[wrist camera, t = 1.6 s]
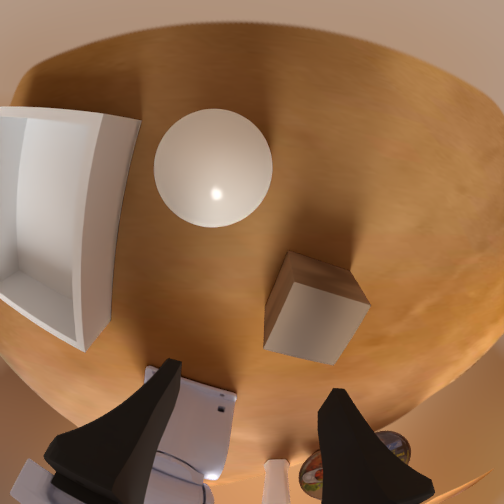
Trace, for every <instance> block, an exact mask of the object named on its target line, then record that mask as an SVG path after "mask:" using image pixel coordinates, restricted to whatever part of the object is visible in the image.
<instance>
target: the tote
mask: <svg viewBox="0 0 504 504" xmlns="http://www.w3.org/2000/svg"><path fill="white" fill-rule="evenodd" d="M141 122H142V121H141V120H136V119H131V118H126V117H120V116H115V115H109V114H102V113H95V112H87V111H78V110H68V109H57V108H42V107H0V298H1V299H2V300H3V301H4V302H6V303H7V304H8V305H10V306H11V307H12V308H14V309H15V310H17V311H18V312H19V313H21V314H22V315H24V316H25V317H27V318H28V319H30V320H31V321H32V322H34V323H36V324H37V325H39V326H40V327H42V328H43V329H45V330H46V331H48V332H50V333H51V334H53V335H55V336H56V337H58V338H60V339H61V340H63V341H65V342H67V343H68V344H70V345H72V346H74V347H76V348H77V349H79V350H81V351H83V352H86V351H87V350H88V348H89V347H90V346H91V344H92V343H93V342H94V341H95V339H96V338H97V337H98V336H99V334H100V333H101V332H102V331H103V329H104V328H105V327H106V326H107V324H108V323H109V322H110V321H111V302H112V284H113V271H114V260H115V251H116V242H117V235H118V227H119V221H120V214H121V208H122V202H123V197H124V192H125V186H126V182H127V177H128V172H129V168H130V163H131V159H132V155H133V151H134V147H135V143H136V139H137V136H138V132H139V128H140V125H141Z"/></svg>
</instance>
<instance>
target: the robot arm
mask: <svg viewBox="0 0 504 504" xmlns="http://www.w3.org/2000/svg"><path fill="white" fill-rule="evenodd" d="M181 366H182V362H181V361H177V360H174V359H170V358H168V359H167V360H166V361H165V362H164V363H163V365H162V366H161V367H160V368H159V369H158V368H155V367H152V366H147V367H146V369H145V380H144V385H143V386H142V387H141V388H140V389H139V390H137V391H136V392H135V393H134V394H133V395H132V396H130V397H129V398H128V399H127V400H126V401H124V402H123V403H122V404H120V405H119V406H117V407H116V408H115V409H113V410H112V411H110V412H108V413H107V414H105V415H103V416H102V417H100V418H98V419H96V420H94V421H92V422H90V423H88V424H86V425H84V426H82V427H79V428H77V429H75V430H72V431H69V432H66V433H63V434H60V435H57V436H56V437H55V438H54V440H53V441H52V442H51V443H50V445H49V447H48V449H47V451H46V452H45V454H44V459H45V460H46V462H47V463H48V464H50V466H51V467H52V468H53V469H54V470H55V471H56V473H55V475H53V474H51V473H50V472H49V471H47V470H46V469H44V468H43V467H41V466H39V465H38V464H37V463H35V462H34V461H32V460H31V459H27V461H26V463H25V465H24V467H23V468H22V471H21V472H20V474H19V476H18V478H17V480H16V482H15V484H14V486H13V488H12V490H11V492H10V495H11V496H12V497H14V498H15V499H16V500H17V501H19V502H20V503H21V504H214V497H213V494H212V492H211V489H210V488H209V486H208V485H207V484H205V483H203V479H209V480H217V479H218V478H219V477H220V475H221V473H222V470H223V468H224V465H225V461H226V457H227V453H228V448H229V442H230V434H231V427H232V420H233V413H234V406H235V401H236V399H237V394H235V393H233V392H229V391H225V390H222V389H218V388H215V387H211V386H208V385H205V384H201V383H198V382H195V381H192V380H189V379H186V378H183V377H181ZM318 436H319V444H320V451H321V459H322V468H323V488H322V502H321V504H420V503H422V502H423V501H425V500H427V499H429V498H430V497H431V496H433V495H434V493H435V490H434V487H433V483H432V480H431V479H429V478H427V477H426V476H424V475H422V474H420V473H418V472H417V471H415V470H414V469H412V468H411V467H409V466H408V465H407V464H405V463H404V462H403V461H402V460H400V459H399V458H398V457H397V456H396V455H395V454H394V453H393V452H391V451H390V450H389V449H388V447H387V446H386V445H385V444H384V443H383V442H382V441H381V440H380V439H379V438H378V436H377V435H376V434H375V433H374V431H373V430H372V429H371V428H370V426H369V425H368V423H367V422H366V421H365V419H364V418H363V416H362V415H361V413H360V412H359V410H358V409H357V407H356V406H355V404H354V403H353V401H352V400H351V398H350V397H349V395H348V393H347V392H346V390H345V389H339V388H333V389H332V391H331V393H330V394H329V396H328V397H327V399H326V400H325V402H324V403H323V405H322V406H321V408H320V409H319V411H318Z"/></svg>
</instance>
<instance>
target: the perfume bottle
mask: <svg viewBox="0 0 504 504" xmlns="http://www.w3.org/2000/svg"><path fill="white" fill-rule="evenodd" d="M289 465H290V464H289V463H288V461H287V460H286V459H274V460H268V461H267V462H266V463H265V464H264V468H265V472H266V476H265V484H264V491H263V498H262V504H290V495H289V485H288V474H287V472H288V469H289Z"/></svg>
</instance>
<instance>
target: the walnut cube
mask: <svg viewBox="0 0 504 504" xmlns="http://www.w3.org/2000/svg"><path fill="white" fill-rule="evenodd" d="M370 306H371V304H370V303H369V301H368V299H367V298H366V296H365V294H364V293H363V291H362V289H361V288H360V286H359V284H358V283H357V281H356V280H355V278H354V276H353V275H352V273H351V272H350V271H348V270H345V269H343V268H340V267H337V266H334V265H331V264H328V263H325V262H322V261H319V260H316V259H313V258H310V257H307V256H304V255H301V254H298V253H295V252H292V251H289V250H288V252H287V255H286V257H285V260H284V262H283V265H282V267H281V270H280V272H279V275H278V277H277V280H276V282H275V284H274V287H273V289H272V292H271V294H270V297H269V299H268V301H267V304H266V306H265V317H264V343H263V349H265V350H269V351H273V352H277V353H281V354H285V355H289V356H293V357H297V358H302V359H306V360H310V361H315V362H320V363H324V364H329V365H334V364H335V363H336V361H337V360H338V358H339V357H340V355H341V354H342V352H343V351H344V349H345V348H346V346H347V345H348V343H349V341H350V340H351V338H352V337H353V335H354V333H355V332H356V330H357V329H358V327H359V325H360V324H361V322H362V320H363V318H364V317H365V315H366V313H367V312H368V310H369V308H370Z"/></svg>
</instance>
